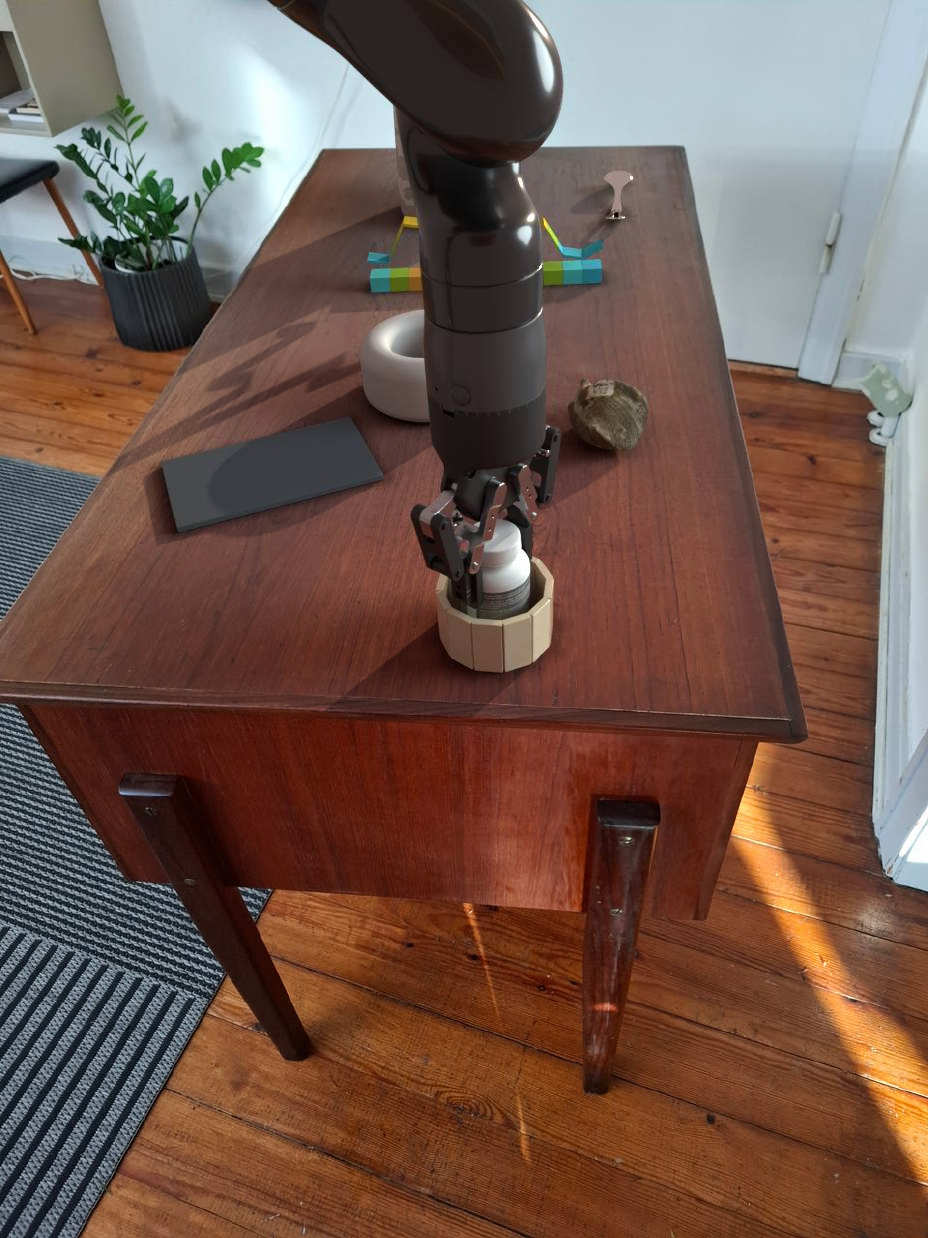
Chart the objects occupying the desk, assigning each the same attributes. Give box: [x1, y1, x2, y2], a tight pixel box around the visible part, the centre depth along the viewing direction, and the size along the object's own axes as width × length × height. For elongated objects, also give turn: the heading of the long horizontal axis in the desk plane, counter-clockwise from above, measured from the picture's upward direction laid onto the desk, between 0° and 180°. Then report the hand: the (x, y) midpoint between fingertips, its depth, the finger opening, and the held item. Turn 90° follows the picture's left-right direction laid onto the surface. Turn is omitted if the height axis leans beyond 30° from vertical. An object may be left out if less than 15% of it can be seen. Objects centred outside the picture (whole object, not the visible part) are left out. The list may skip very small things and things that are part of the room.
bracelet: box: [434, 555, 555, 674], centre depth 69 cm, size 9×9×5 cm
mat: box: [160, 416, 384, 533], centre depth 89 cm, size 20×12×1 cm, turn 111°
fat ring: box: [358, 309, 430, 423], centre depth 97 cm, size 15×15×7 cm
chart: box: [367, 216, 604, 293], centre depth 114 cm, size 30×3×15 cm, turn 89°
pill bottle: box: [460, 518, 531, 620], centre depth 68 cm, size 5×5×10 cm
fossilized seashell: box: [567, 377, 650, 452], centre depth 89 cm, size 8×7×10 cm
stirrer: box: [602, 170, 635, 220], centre depth 135 cm, size 20×4×5 cm
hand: (494, 579), depth 67 cm, fingers closed on pill bottle, 5 cm apart
